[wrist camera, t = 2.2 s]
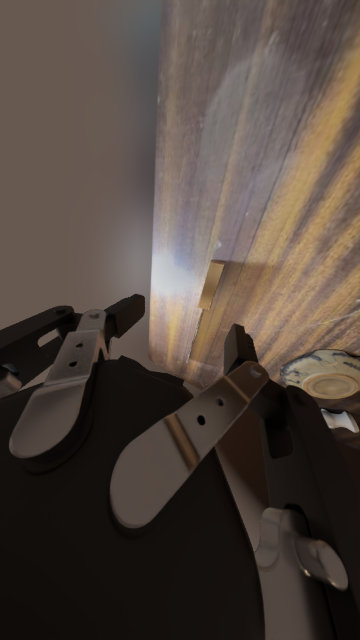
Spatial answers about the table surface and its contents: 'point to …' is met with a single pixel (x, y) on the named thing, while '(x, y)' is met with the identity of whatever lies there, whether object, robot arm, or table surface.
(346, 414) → the smooth white sculpture
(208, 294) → the knife
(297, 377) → the decorative bowl
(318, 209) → the table surface
